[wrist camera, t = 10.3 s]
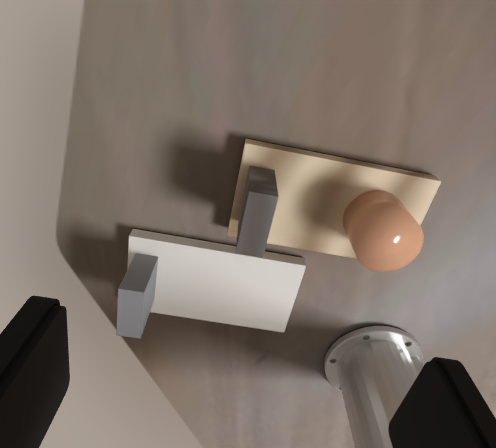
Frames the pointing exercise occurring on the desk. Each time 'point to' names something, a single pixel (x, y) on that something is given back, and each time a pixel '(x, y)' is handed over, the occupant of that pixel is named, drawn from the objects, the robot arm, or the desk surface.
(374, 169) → the beige stand with post
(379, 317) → the desk surface
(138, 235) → the white board gray block
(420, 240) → the peach rounded lump
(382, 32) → the desk surface
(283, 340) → the desk surface
